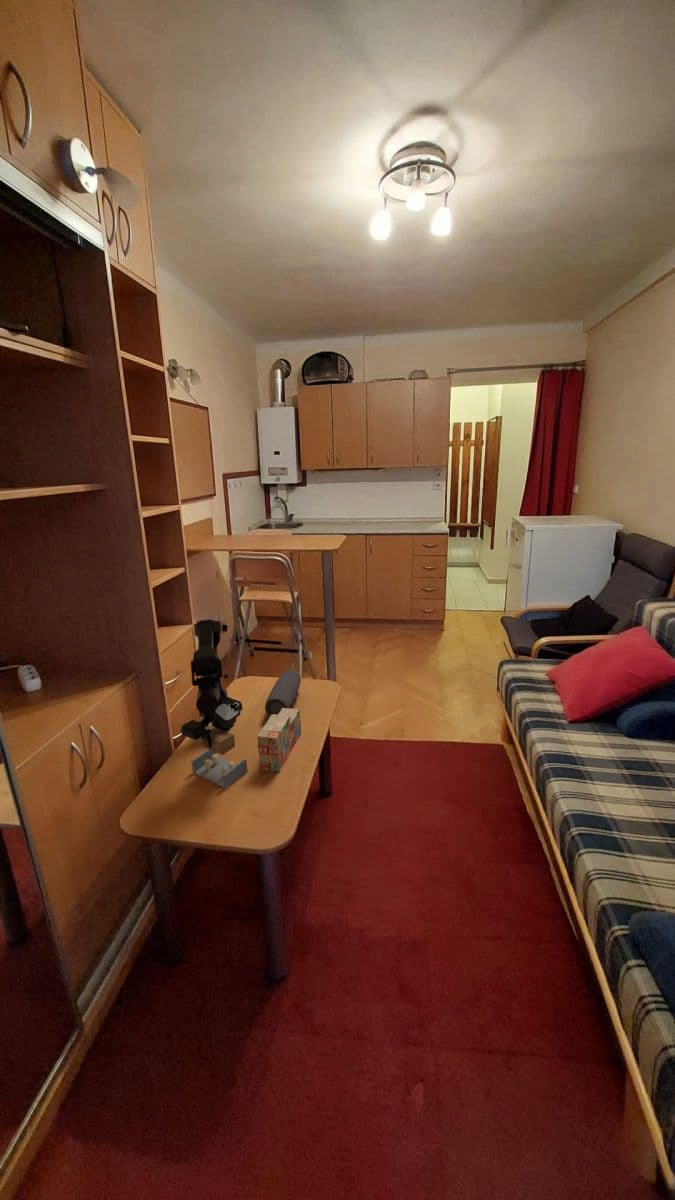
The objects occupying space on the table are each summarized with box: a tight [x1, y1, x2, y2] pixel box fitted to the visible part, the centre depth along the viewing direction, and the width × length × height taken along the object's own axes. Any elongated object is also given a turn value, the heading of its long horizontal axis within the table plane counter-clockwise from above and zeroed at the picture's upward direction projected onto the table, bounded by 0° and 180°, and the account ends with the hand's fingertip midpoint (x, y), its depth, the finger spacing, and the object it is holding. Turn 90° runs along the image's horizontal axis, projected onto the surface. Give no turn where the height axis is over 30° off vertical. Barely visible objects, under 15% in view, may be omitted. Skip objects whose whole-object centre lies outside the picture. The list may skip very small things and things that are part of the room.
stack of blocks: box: [256, 708, 302, 773], centre depth 148 cm, size 21×6×12 cm, turn 166°
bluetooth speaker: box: [264, 669, 302, 718], centre depth 176 cm, size 23×9×10 cm, turn 172°
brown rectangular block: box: [197, 724, 236, 756], centre depth 137 cm, size 10×5×4 cm, turn 57°
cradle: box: [190, 748, 249, 790], centre depth 140 cm, size 14×9×4 cm, turn 57°
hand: (216, 742), depth 138 cm, fingers closed on brown rectangular block, 5 cm apart
